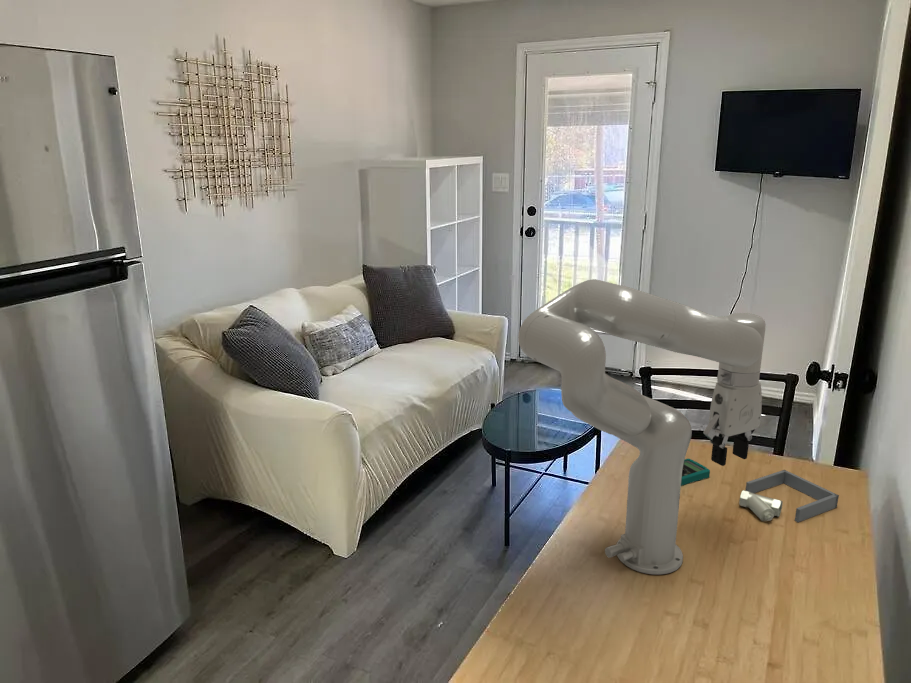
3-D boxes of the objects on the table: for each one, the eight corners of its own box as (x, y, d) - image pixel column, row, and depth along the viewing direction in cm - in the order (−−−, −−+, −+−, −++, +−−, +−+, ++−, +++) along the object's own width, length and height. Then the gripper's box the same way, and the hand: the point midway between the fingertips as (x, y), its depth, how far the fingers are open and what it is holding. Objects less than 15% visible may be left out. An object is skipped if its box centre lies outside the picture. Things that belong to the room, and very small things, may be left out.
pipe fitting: (773, 528, 139) (781, 512, 144) (775, 512, 138) (783, 497, 143) (734, 516, 144) (743, 501, 149) (735, 501, 142) (744, 486, 147)
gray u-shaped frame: (797, 522, 140) (799, 509, 139) (744, 493, 152) (746, 482, 151) (836, 507, 145) (838, 495, 144) (782, 481, 157) (784, 469, 156)
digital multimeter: (642, 480, 159) (642, 469, 159) (688, 466, 166) (689, 455, 165) (663, 493, 153) (664, 482, 152) (710, 479, 159) (711, 468, 159)
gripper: (722, 389, 123) (713, 477, 128) (784, 374, 130) (773, 458, 135) (691, 377, 129) (684, 461, 134) (752, 364, 137) (743, 444, 142)
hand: (729, 458), depth 135 cm, fingers open, 5 cm apart
